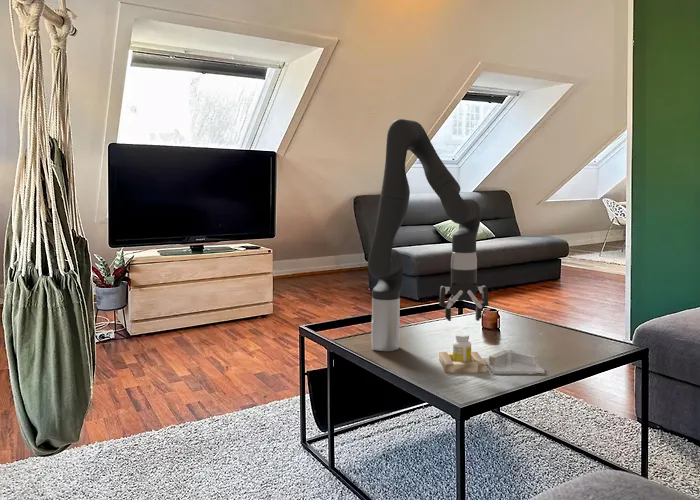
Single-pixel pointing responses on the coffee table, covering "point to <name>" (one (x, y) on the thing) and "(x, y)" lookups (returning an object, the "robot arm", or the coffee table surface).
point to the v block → (512, 363)
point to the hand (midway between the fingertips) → (463, 320)
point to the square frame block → (462, 363)
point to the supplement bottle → (462, 348)
